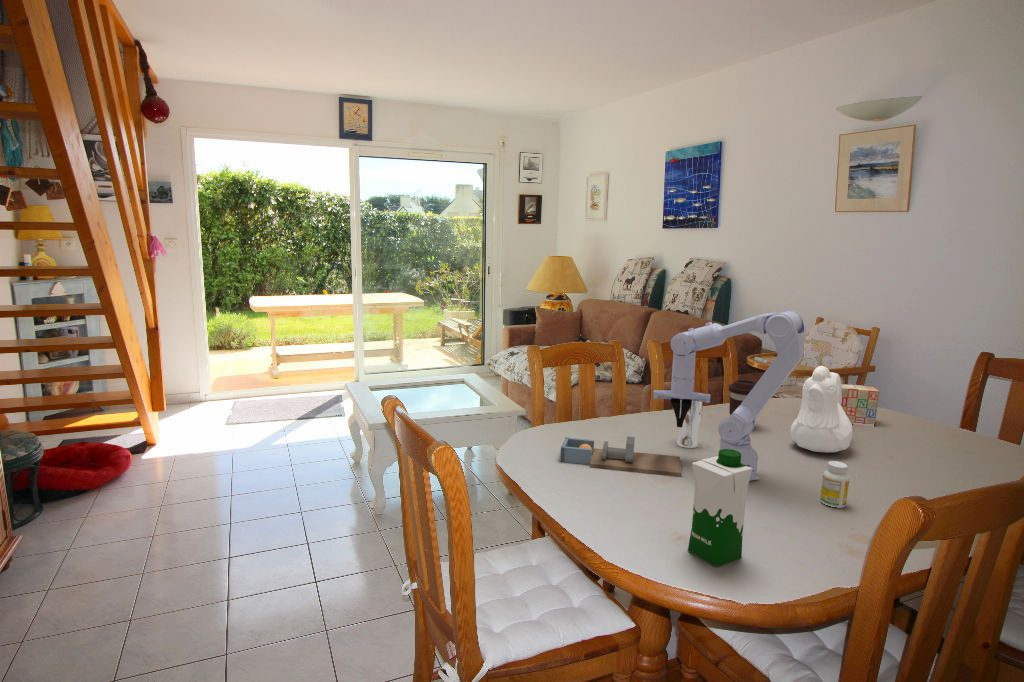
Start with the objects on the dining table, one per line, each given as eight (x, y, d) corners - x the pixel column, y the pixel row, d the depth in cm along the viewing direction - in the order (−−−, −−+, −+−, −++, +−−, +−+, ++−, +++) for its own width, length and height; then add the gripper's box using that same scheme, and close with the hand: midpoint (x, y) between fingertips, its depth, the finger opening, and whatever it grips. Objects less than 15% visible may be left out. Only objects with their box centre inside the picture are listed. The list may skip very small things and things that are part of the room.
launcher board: (679, 460, 167) (679, 456, 167) (681, 476, 155) (681, 472, 155) (594, 451, 172) (594, 448, 172) (589, 467, 160) (589, 463, 160)
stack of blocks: (804, 421, 205) (807, 385, 203) (800, 416, 211) (803, 381, 209) (875, 427, 200) (879, 390, 198) (868, 421, 206) (873, 386, 204)
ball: (582, 463, 166) (595, 459, 165) (575, 454, 164) (589, 449, 163) (580, 453, 169) (594, 448, 168) (574, 443, 167) (588, 439, 166)
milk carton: (748, 558, 116) (758, 457, 113) (716, 571, 112) (725, 466, 108) (711, 538, 124) (719, 443, 120) (679, 550, 119) (687, 451, 116)
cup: (593, 453, 170) (594, 440, 169) (590, 464, 162) (591, 450, 161) (564, 451, 172) (565, 437, 171) (560, 461, 164) (560, 447, 163)
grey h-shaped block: (633, 454, 166) (634, 437, 166) (632, 462, 161) (633, 444, 160) (603, 451, 168) (604, 434, 167) (602, 459, 162) (602, 441, 161)
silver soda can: (697, 441, 182) (700, 392, 180) (701, 449, 175) (705, 398, 173) (673, 440, 183) (676, 391, 180) (677, 448, 176) (680, 397, 173)
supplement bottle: (828, 509, 138) (833, 468, 137) (815, 499, 144) (819, 460, 142) (851, 508, 139) (856, 468, 137) (836, 498, 144) (841, 459, 143)
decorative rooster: (830, 464, 166) (841, 374, 162) (775, 447, 178) (784, 363, 174) (872, 446, 181) (883, 364, 176) (819, 432, 193) (828, 354, 189)
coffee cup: (718, 425, 199) (722, 379, 196) (741, 421, 203) (745, 377, 200) (741, 434, 190) (746, 387, 187) (765, 430, 194) (770, 384, 191)
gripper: (710, 375, 166) (706, 424, 168) (654, 371, 169) (651, 419, 171) (712, 381, 159) (708, 432, 161) (654, 377, 162) (651, 427, 164)
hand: (679, 426), depth 166 cm, fingers closed
